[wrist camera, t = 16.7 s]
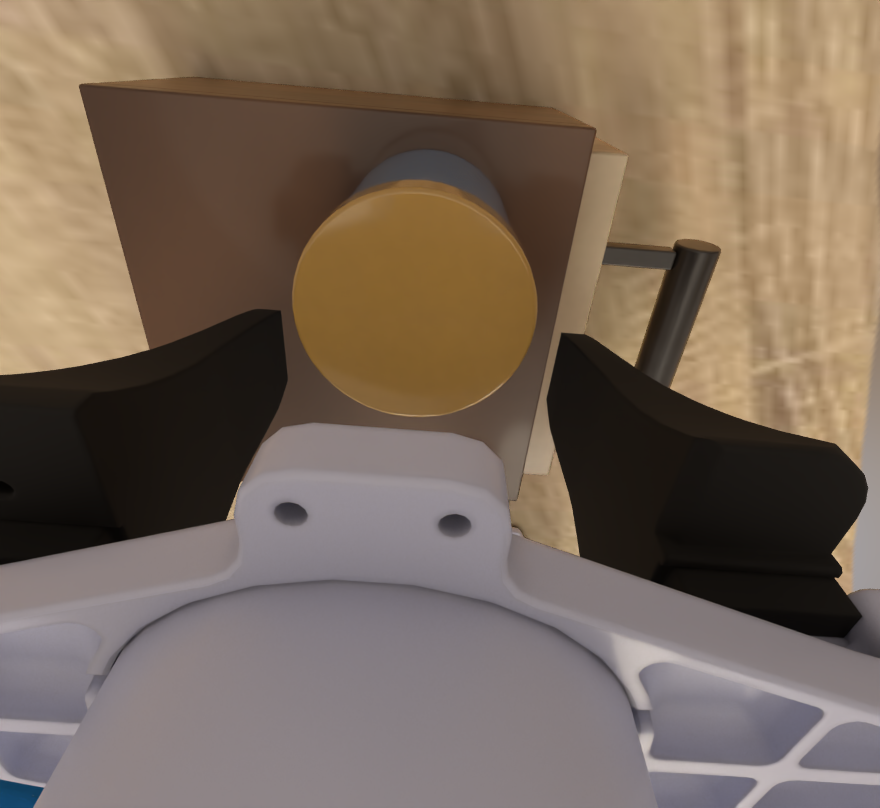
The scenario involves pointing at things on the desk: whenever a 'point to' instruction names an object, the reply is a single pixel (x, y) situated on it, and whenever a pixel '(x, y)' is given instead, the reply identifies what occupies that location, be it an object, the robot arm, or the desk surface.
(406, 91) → the desk surface
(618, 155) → the drawer
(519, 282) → the tan grey cylinder
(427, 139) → the cabinet
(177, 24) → the desk surface
